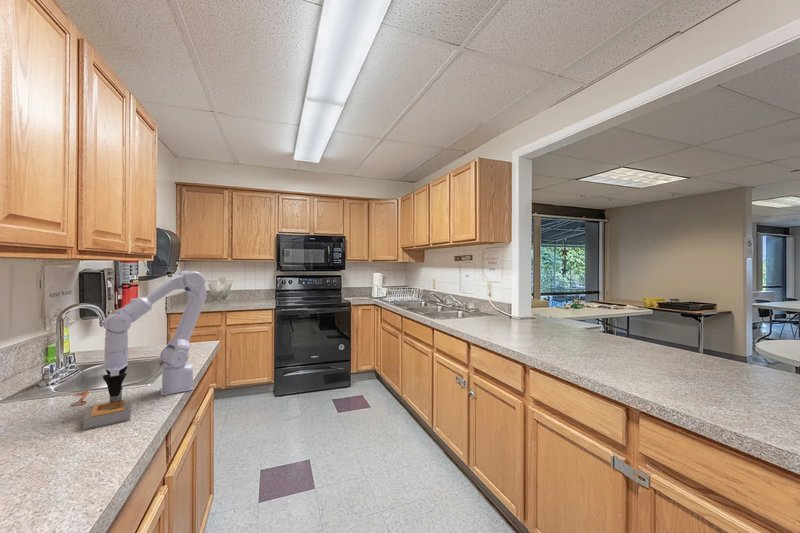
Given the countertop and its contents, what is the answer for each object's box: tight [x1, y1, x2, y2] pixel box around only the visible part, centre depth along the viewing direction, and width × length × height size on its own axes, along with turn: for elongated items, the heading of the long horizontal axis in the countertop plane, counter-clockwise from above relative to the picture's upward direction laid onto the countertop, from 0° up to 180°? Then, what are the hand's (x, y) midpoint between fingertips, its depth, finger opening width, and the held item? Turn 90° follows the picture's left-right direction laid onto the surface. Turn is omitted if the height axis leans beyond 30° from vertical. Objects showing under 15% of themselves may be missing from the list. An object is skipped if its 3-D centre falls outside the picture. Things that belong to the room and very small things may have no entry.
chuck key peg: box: [109, 386, 124, 402], centre depth 107 cm, size 3×3×6 cm
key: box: [69, 389, 90, 407], centre depth 112 cm, size 6×1×15 cm
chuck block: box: [83, 399, 132, 431], centre depth 97 cm, size 10×8×4 cm
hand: (115, 392), depth 107 cm, fingers open, 7 cm apart
